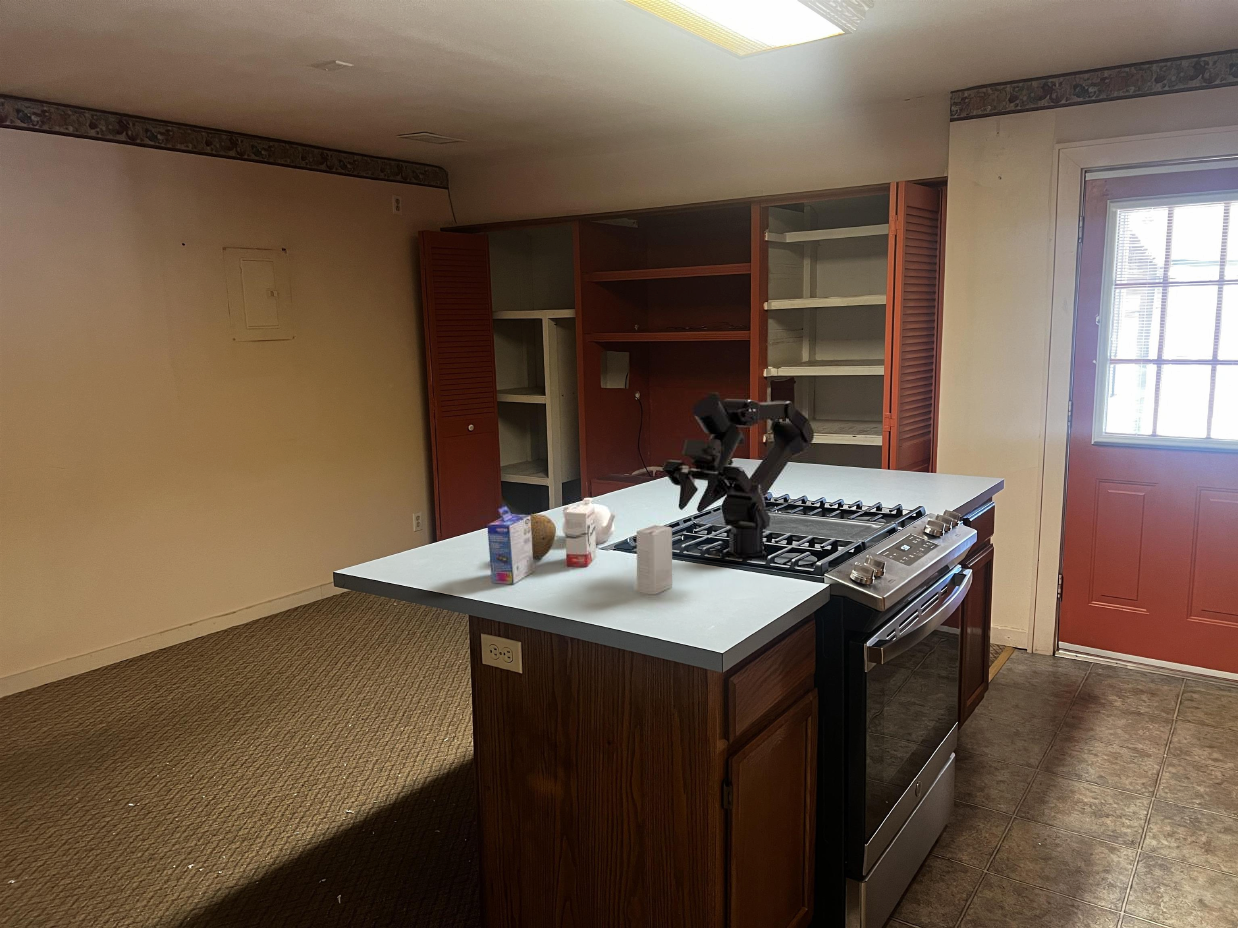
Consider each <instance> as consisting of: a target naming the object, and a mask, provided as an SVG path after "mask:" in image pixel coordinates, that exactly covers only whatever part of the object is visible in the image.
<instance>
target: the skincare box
mask: <svg viewBox="0 0 1238 928" xmlns="http://www.w3.org/2000/svg"><path fill="white" fill-rule="evenodd" d="M636 582H637V583H636V586H637V587H636V589H637V592H639V593H643V594H647V595H657V594H659V593H661V592H664V591H667V590H669V589H671V588H673V530H672V527H670V526H663V525H656V524H655V525H652V526H649V527H646V528H643V529H639V530H636Z"/></svg>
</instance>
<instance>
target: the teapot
mask: <svg viewBox="0 0 1238 928" xmlns="http://www.w3.org/2000/svg"><path fill="white" fill-rule="evenodd" d="M592 501H593V498H592V497H585V498H583V502H584V503H583V504H581V505H586V506H595V537H596V545H598V544H602V543H603V544H604V543H606V542H607V541H609V539H610V538H611V537H612V535H613V534H614V532H615V523H614V520H615V518H616V517H617V516H618V514H617V513H611V512H610V510H609V508H608V507H607V506H605V505H603V504H599V503H598V504H597V503H592ZM570 507H571V506H567V507H564V508H563V510H562V515H563V518H564V521H563V524H562V534H563V535H564V536H565V537H566V533H565V513H566V512H565V511H566V510H568V509H569V508H570Z"/></svg>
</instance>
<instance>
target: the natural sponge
mask: <svg viewBox="0 0 1238 928" xmlns="http://www.w3.org/2000/svg"><path fill="white" fill-rule="evenodd" d="M529 515H530V521H531V536H532V552H533V559H542V558H544V557H545V556H546V555H547V554H549V552H550V551H551V550H552V548H553V545H554V542H555V540H556V539H555V538H556V535H557V527H556V525H555V523H554V522H553V520H551V519H550V517H548V516H547V515H544V514H541V513H531V514H529Z"/></svg>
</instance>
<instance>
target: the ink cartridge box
mask: <svg viewBox="0 0 1238 928" xmlns="http://www.w3.org/2000/svg"><path fill="white" fill-rule="evenodd" d="M497 511H498V513H499V515H500V517H501V518H500V517H499V518H498V519H496V520H495V521H493V522H490V523H489V524H487V526H486V527H487V540H488V550H489V551H488V553H489V563H490V574H491V576H490V577H491V583H492V582H493V583H494V584H495V583H496V584H503V585H504V584H505V585H515V584H516V583H518V582H519V581H521V580H523V579H524V578H526V577H527V576H528V575H530V574H532V573H533V572H534V569H535V568H534V557H533V552H532V536H531V521H530V515H531V514H515V513H513V514H512V513H511V511H510V509H509V508H508V507H507V506H502V507H501V508H498V509H497ZM504 511H506V512H507V513H505V514H503V512H504ZM493 583H492V584H493Z"/></svg>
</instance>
